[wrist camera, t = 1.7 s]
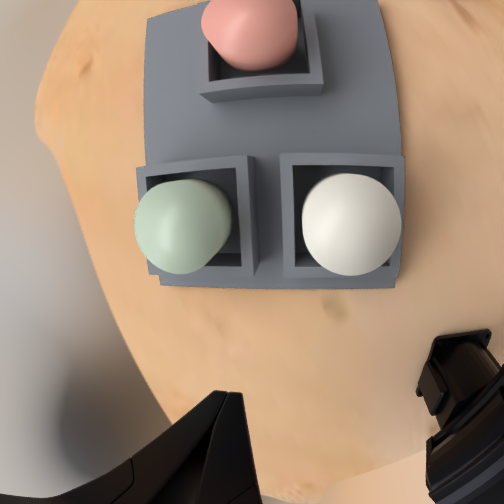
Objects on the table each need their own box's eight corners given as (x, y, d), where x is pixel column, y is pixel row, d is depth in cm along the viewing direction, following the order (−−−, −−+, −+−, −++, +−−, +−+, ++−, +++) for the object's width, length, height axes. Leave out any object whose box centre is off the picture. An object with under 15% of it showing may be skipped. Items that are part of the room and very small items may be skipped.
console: (373, 4, 12) (384, -21, 8) (390, 281, 17) (406, 305, 14) (153, 23, 15) (130, 5, 11) (166, 280, 20) (143, 300, 17)
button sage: (231, 175, 14) (215, 177, 12) (237, 255, 16) (222, 275, 13) (157, 182, 15) (129, 186, 12) (166, 255, 16) (141, 272, 14)
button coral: (294, 8, 11) (291, -20, 8) (301, 71, 12) (301, 49, 9) (217, 16, 12) (201, -8, 9) (219, 77, 13) (201, 59, 10)
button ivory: (383, 174, 13) (402, 176, 10) (380, 255, 14) (396, 274, 12) (300, 173, 14) (300, 173, 11) (302, 255, 15) (302, 276, 12)
